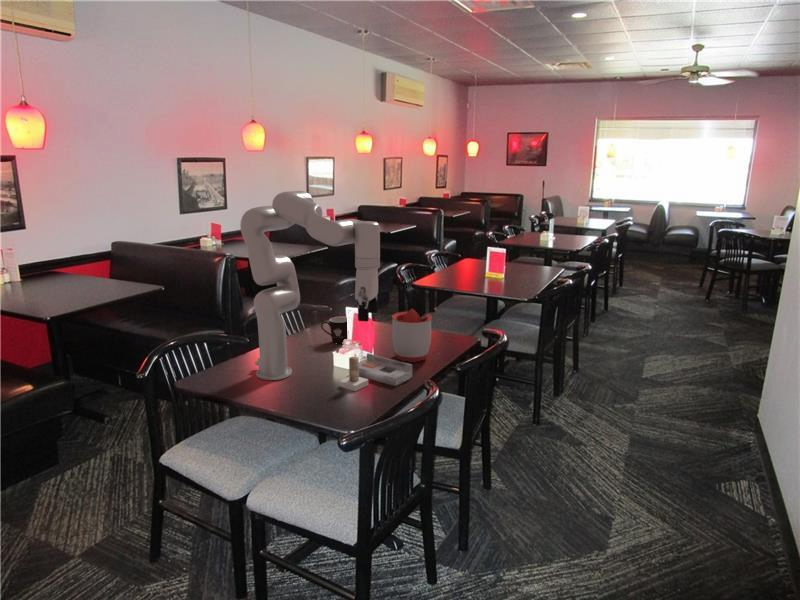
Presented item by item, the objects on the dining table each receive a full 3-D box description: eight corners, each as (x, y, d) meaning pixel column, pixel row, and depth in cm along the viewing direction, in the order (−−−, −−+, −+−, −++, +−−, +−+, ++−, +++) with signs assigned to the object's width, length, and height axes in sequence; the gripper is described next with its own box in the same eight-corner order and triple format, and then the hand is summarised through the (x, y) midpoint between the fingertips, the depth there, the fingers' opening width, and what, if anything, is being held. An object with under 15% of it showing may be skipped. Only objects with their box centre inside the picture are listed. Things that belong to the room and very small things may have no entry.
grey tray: (351, 373, 204) (351, 360, 203) (368, 365, 212) (368, 353, 211) (395, 386, 193) (396, 372, 192) (412, 377, 201) (412, 364, 199)
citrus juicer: (440, 355, 224) (442, 306, 220) (417, 367, 210) (418, 316, 206) (408, 347, 233) (408, 301, 228) (383, 359, 219) (383, 310, 214)
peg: (347, 380, 192) (347, 358, 190) (353, 377, 195) (353, 356, 193) (354, 382, 190) (354, 360, 188) (360, 379, 193) (360, 357, 191)
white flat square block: (339, 386, 192) (339, 381, 192) (352, 380, 198) (352, 374, 197) (355, 391, 188) (355, 385, 188) (368, 384, 194) (368, 379, 193)
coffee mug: (354, 341, 240) (353, 318, 238) (341, 346, 233) (341, 323, 231) (332, 336, 246) (332, 314, 244) (320, 341, 239) (319, 319, 237)
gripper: (364, 257, 179) (364, 309, 183) (346, 266, 163) (347, 323, 167) (386, 258, 177) (386, 310, 182) (371, 268, 161) (371, 325, 165)
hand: (367, 316), depth 174 cm, fingers open, 9 cm apart
